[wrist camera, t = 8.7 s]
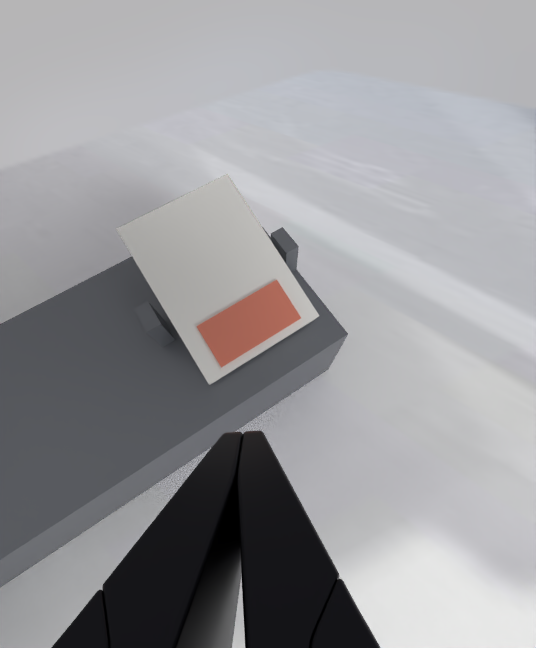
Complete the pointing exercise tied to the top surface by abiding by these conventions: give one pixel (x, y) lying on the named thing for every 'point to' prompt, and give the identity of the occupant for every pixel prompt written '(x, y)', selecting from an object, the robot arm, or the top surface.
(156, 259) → the outlet rocker
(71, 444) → the power strip
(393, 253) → the top surface
